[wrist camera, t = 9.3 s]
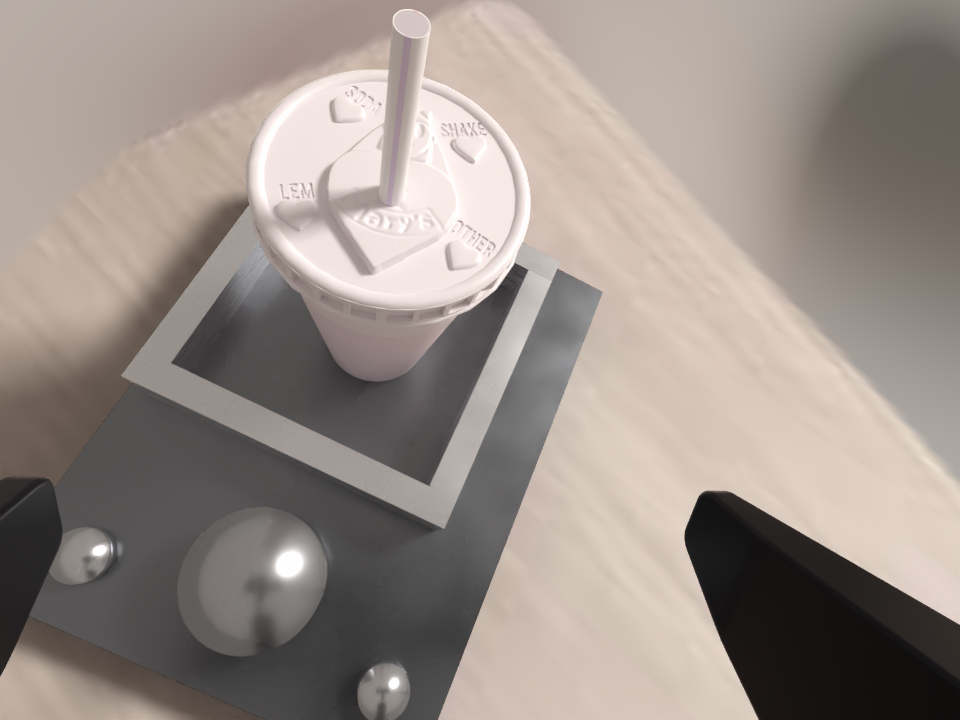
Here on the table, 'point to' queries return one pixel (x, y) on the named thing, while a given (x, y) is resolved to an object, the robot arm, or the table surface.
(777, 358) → the table surface
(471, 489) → the grey tray with knobs
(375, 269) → the smoothie
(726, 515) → the robot arm
